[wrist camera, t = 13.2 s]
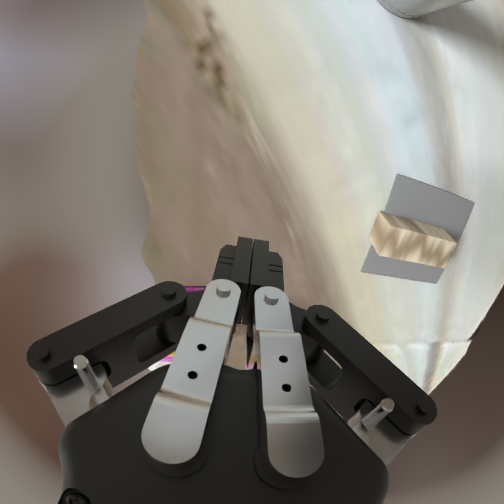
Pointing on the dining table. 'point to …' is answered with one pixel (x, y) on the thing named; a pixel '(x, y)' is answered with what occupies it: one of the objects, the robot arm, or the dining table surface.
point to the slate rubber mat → (426, 211)
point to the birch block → (411, 240)
